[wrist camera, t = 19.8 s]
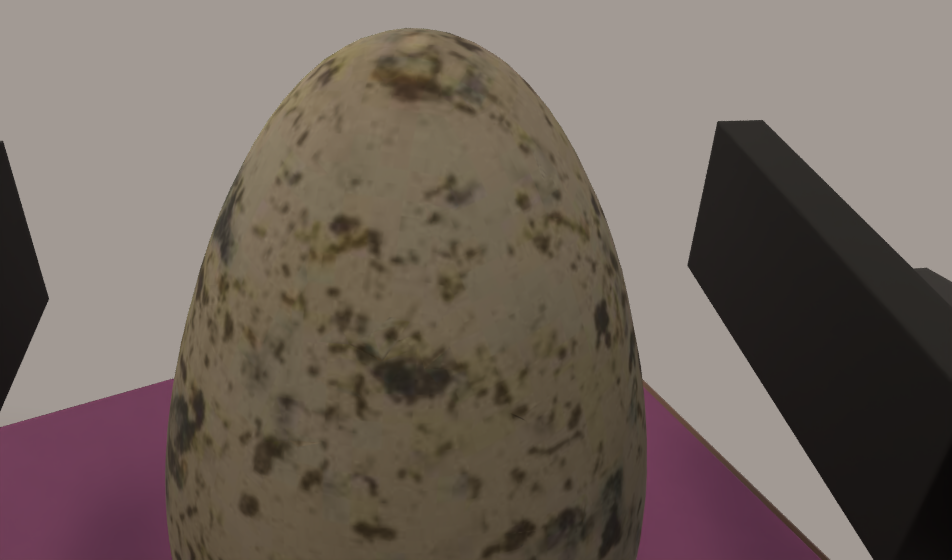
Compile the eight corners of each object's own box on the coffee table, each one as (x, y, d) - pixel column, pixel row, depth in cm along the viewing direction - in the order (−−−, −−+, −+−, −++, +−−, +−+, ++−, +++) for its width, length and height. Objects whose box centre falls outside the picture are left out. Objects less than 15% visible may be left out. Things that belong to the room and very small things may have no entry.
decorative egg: (650, 609, 15) (818, 21, 9) (480, 989, 10) (600, 302, 5) (359, 469, 17) (349, -76, 11) (117, 730, 12) (-102, 53, 7)
